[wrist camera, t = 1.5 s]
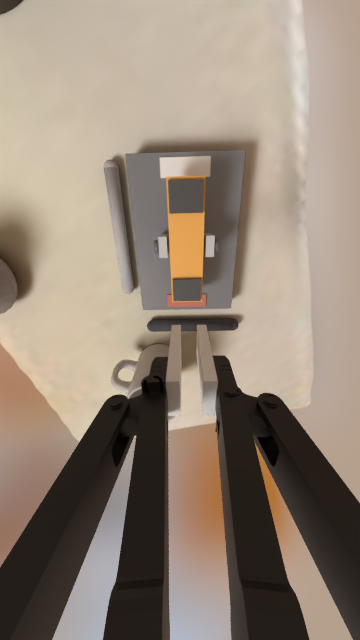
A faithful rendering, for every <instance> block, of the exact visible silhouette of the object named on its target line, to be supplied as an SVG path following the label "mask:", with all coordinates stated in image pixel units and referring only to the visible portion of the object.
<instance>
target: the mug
mask: <svg viewBox="0 0 360 640" xmlns="http://www.w3.org/2000/svg"><path fill="white" fill-rule="evenodd" d="M168 355H169V346H168V345H164V344H154V345H151V346H148V347H147V348H145V349H144V350H143V351H142V352H141V354H140V356H139V359H138V362H136V361H132V360H122V361H120V362H119V363H118V364H117V365H116V366H115V368H114V370H113V373H112V376H111V383H112V385H113V387H114V388H115V389H117V390H120V391H122V392H125V393H127V394H128V396H127V398H128V399H130V398H133V397H136V396H139V395H140V394H142V388H141V381H142V379H143V378H144V377H146V376H148V375H149V373H150V368H151V364H152V361H153V360H154V358H155V357H168ZM181 367H182V362H181ZM123 368H128V369H131V370H133V371H134V376H133V379H132V381H131V382H126V381H122V380H120V379H119V378H118V373H119V371H120V370H121V369H123ZM174 417H175V416H168V421H170V420H172V419H173V418H174Z"/></svg>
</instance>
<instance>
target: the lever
mask: <svg viewBox="0 0 360 640" xmlns="http://www.w3.org/2000/svg"><path fill="white" fill-rule="evenodd" d="M205 183H206V176H177V177H166V187H167V207H168V227H169V247H170V268H171V288H172V302H202V281H203V248H204V216H205Z"/></svg>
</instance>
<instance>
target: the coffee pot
mask: <svg viewBox="0 0 360 640" xmlns="http://www.w3.org/2000/svg"><path fill="white" fill-rule="evenodd" d="M17 292H18V289H17V282H16V280H15V277H14V275H13V273H12V271H11V270H10V268H9V267H8V265H7V264H6V263H5V262H4V261H3V260H2V259H1V258H0V314H2V313H5V312H6V311H7V310H9V309H10V308H11V307H12V305H13V304H14V302H15V300H16V298H17Z"/></svg>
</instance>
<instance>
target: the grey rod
mask: <svg viewBox="0 0 360 640" xmlns="http://www.w3.org/2000/svg"><path fill="white" fill-rule="evenodd" d="M104 172H105V179H106V185H107V192H108V198H109V205H110V211H111V217H112V224H113V230H114V237H115V243H116V250H117V256H118V263H119V269H120V276H121V282H122V289H123V291H124V292H125V293H127V294H130V293H132V292H133V290H134V286H133V278H132V270H131V262H130V255H129V247H128V239H127V231H126V224H125V216H124V208H123V200H122V192H121V185H120V177H119V169H118V165H117V164H116V162H114V161H113V160H107V161H106V162H105V163H104Z"/></svg>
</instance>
